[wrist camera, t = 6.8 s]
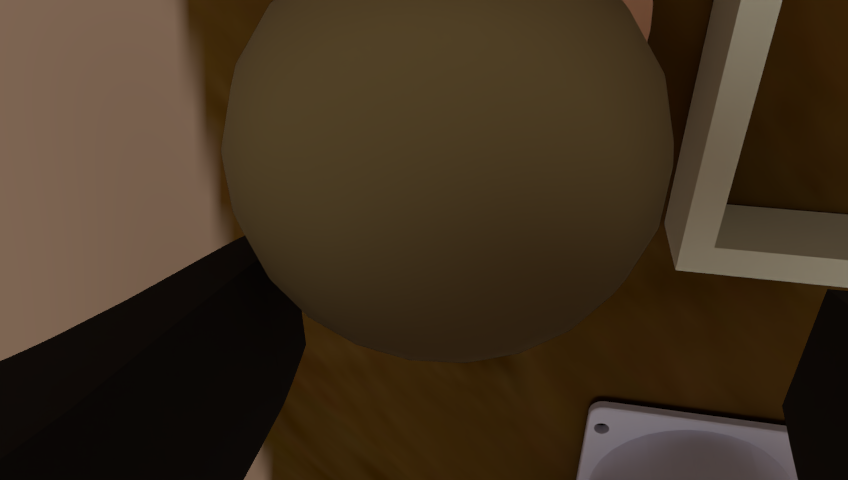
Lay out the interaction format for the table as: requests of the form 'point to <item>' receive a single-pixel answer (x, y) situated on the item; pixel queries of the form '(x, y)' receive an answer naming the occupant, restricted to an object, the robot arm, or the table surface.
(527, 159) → the brown tapered cylinder
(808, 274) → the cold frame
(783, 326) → the table surface
